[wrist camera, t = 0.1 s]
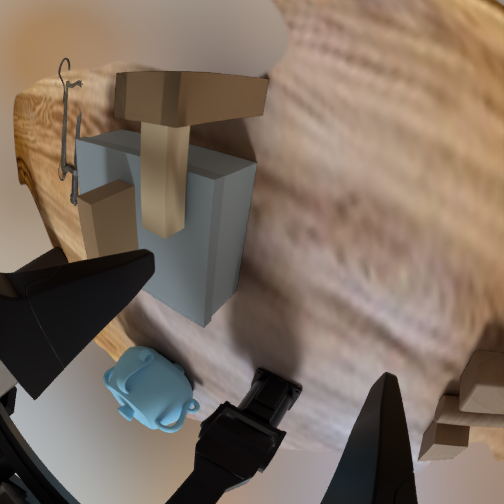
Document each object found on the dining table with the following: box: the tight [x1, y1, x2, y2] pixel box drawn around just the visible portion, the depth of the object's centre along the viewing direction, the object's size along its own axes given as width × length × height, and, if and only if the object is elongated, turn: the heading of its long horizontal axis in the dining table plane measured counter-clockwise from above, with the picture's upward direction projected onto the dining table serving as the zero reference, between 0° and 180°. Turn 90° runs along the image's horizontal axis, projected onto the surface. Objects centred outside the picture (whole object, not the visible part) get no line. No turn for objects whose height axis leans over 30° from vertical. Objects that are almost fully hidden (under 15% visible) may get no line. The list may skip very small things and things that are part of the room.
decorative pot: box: [103, 346, 200, 433], centre depth 46 cm, size 16×16×14 cm
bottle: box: [15, 247, 68, 272], centre depth 49 cm, size 7×7×20 cm
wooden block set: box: [418, 350, 504, 461], centre depth 18 cm, size 17×6×18 cm
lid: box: [76, 137, 225, 328], centre depth 24 cm, size 14×18×7 cm
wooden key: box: [140, 122, 190, 239], centre depth 18 cm, size 10×2×2 cm, turn 171°
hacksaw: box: [58, 58, 83, 206], centre depth 35 cm, size 24×10×2 cm, turn 159°
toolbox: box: [89, 71, 269, 315], centre depth 24 cm, size 21×18×10 cm
